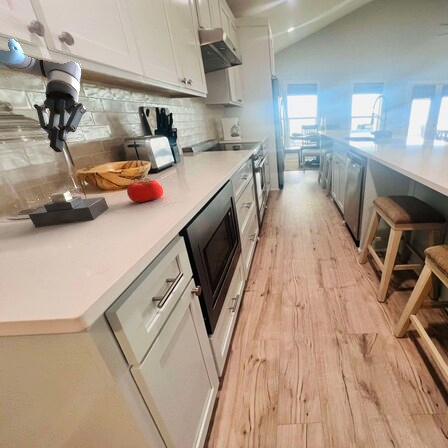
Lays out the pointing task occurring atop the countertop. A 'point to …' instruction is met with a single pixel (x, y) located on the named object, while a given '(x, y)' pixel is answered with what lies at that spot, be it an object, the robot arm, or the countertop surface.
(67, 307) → the countertop surface
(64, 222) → the dark grey stepped block
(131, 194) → the tomato
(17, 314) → the countertop surface
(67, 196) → the grey brown cube
